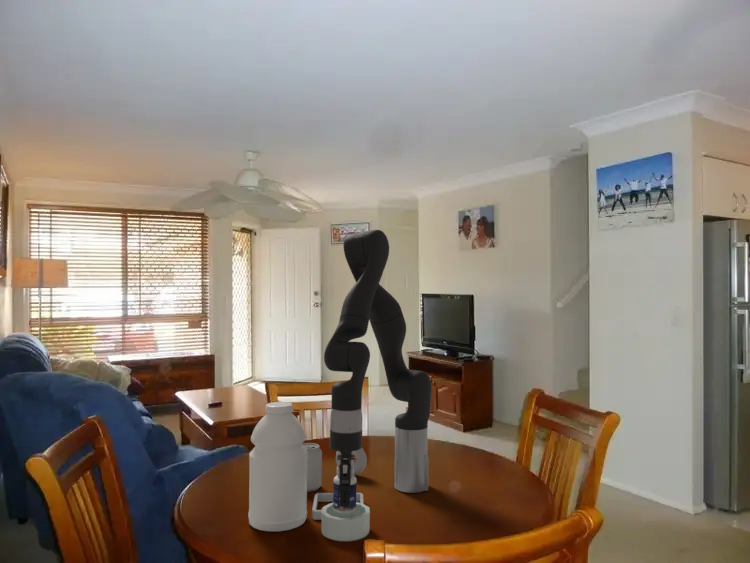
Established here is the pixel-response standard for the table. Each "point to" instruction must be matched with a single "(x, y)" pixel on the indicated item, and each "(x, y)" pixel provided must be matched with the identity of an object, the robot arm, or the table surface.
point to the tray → (327, 498)
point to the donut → (357, 460)
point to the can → (313, 466)
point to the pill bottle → (337, 495)
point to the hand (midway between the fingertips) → (345, 500)
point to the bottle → (278, 471)
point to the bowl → (345, 523)
